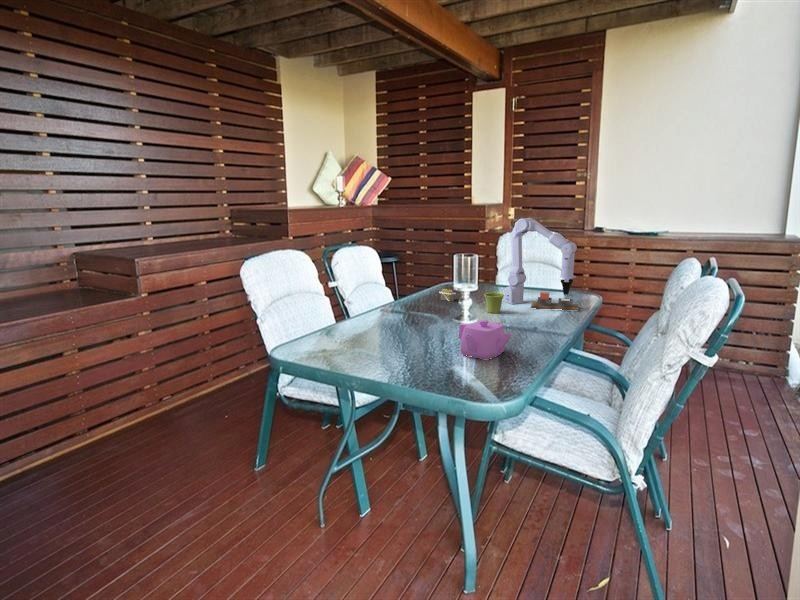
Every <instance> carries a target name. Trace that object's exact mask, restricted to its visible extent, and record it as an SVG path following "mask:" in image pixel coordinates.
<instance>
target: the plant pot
mask: <svg viewBox="0 0 800 600" xmlns="http://www.w3.org/2000/svg"><path fill="white" fill-rule="evenodd" d="M504 296H505V293H500V292H487V293H486V292H485V293H484V298H485V301H486V312H487V313H490V314H500V312H501V308H502V303H503V299H504Z"/></svg>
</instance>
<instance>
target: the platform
mask: <svg viewBox="0 0 800 600" xmlns="http://www.w3.org/2000/svg"><path fill="white" fill-rule="evenodd" d="M438 293H439V294H440V300H442V301H443V300H444V301H448V302H454V301H455V300H454V298H455V297H454V295H456V294H457V292H454V291H453V289H449V288H442V290H439V291H438Z"/></svg>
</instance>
